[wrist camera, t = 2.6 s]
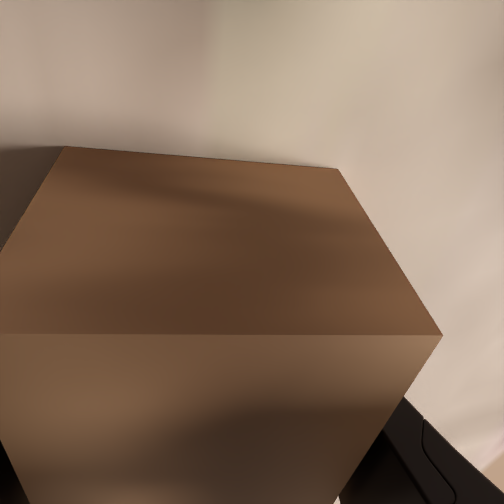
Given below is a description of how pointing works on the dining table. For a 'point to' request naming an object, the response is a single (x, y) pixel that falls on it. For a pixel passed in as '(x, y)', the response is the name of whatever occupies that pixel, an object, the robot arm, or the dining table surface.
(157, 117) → the dining table surface
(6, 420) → the walnut block
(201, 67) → the dining table surface
